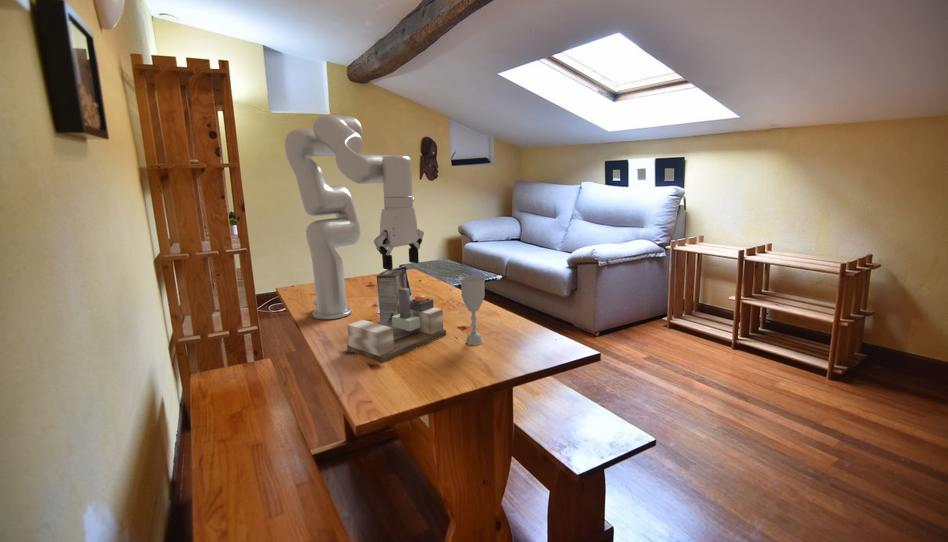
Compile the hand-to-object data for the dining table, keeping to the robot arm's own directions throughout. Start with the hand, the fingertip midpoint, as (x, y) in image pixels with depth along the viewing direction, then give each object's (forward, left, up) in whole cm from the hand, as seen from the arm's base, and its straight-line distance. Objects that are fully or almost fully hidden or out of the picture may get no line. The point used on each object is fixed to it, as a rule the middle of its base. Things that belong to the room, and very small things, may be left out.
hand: (401, 265), depth 134 cm
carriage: (+1, 0, -17) cm, 18 cm away
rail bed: (+1, -3, -21) cm, 21 cm away
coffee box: (-13, +8, -21) cm, 26 cm away
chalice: (+18, +9, -21) cm, 29 cm away
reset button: (+1, +6, -12) cm, 14 cm away
